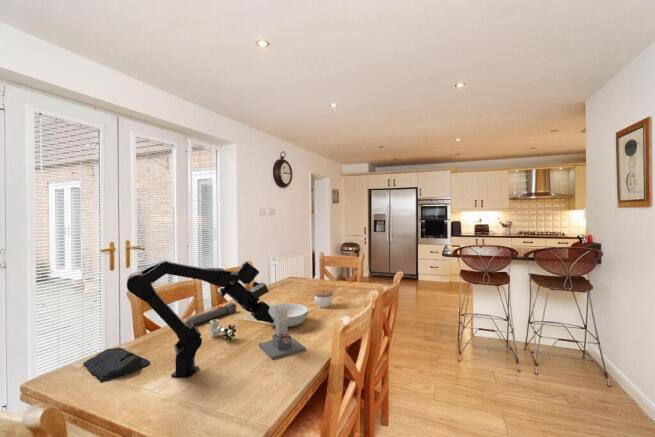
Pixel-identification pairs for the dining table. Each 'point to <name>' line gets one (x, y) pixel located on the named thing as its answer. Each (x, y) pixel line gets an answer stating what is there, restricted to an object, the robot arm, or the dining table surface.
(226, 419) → the dining table surface
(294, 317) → the serving bowl
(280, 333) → the block
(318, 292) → the lidded jar
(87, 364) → the dark slate chunk
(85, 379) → the dining table surface
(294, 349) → the jack stand base
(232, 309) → the flashlight
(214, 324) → the valve
